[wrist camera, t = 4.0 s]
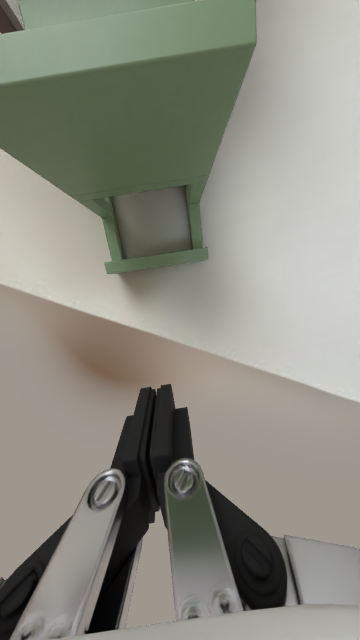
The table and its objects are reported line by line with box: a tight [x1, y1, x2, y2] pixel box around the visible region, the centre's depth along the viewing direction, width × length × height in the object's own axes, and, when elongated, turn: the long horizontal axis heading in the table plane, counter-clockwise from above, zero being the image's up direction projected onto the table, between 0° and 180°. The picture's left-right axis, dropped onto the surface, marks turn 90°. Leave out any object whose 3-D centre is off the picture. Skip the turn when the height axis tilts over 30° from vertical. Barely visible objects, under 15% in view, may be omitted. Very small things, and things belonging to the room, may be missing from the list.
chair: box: [0, 0, 256, 274], centre depth 10 cm, size 9×14×13 cm, turn 8°
